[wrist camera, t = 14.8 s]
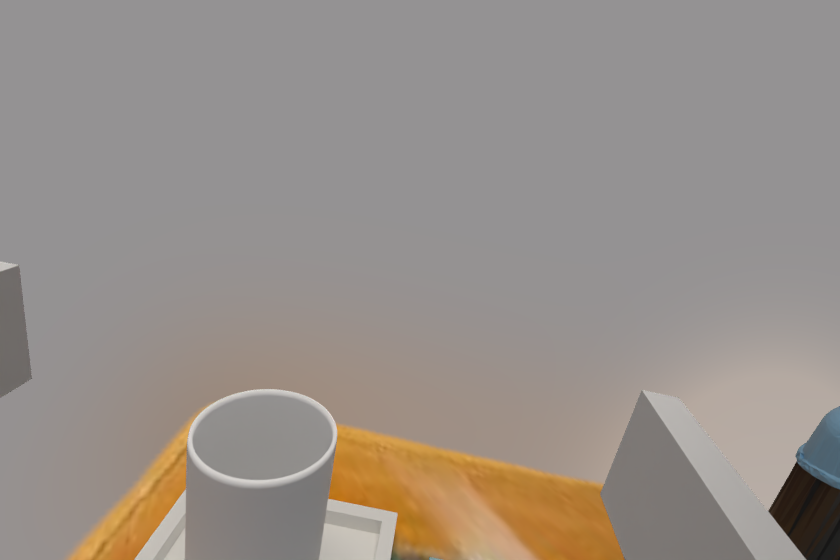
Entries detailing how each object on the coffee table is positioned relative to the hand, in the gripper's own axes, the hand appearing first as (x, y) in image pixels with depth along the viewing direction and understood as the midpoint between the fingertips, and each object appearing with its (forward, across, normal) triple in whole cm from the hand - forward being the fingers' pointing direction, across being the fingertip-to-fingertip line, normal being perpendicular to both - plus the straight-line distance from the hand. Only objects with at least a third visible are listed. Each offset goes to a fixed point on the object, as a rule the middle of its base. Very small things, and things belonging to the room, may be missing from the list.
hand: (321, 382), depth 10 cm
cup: (+14, -6, -29) cm, 33 cm away
